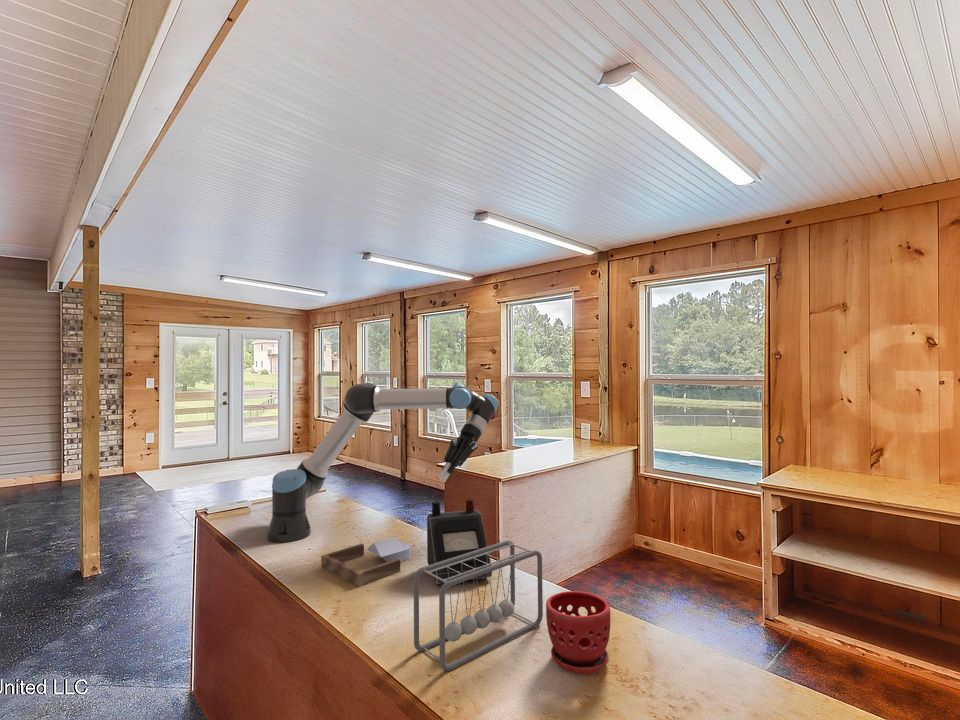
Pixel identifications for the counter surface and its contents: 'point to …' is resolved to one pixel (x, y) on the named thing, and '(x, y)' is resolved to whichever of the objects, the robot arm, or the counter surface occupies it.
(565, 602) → the plant pot
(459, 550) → the voltmeter
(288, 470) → the robot arm
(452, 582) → the newton's cradle
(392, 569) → the walnut bay
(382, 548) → the wedge on round base
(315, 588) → the counter surface
